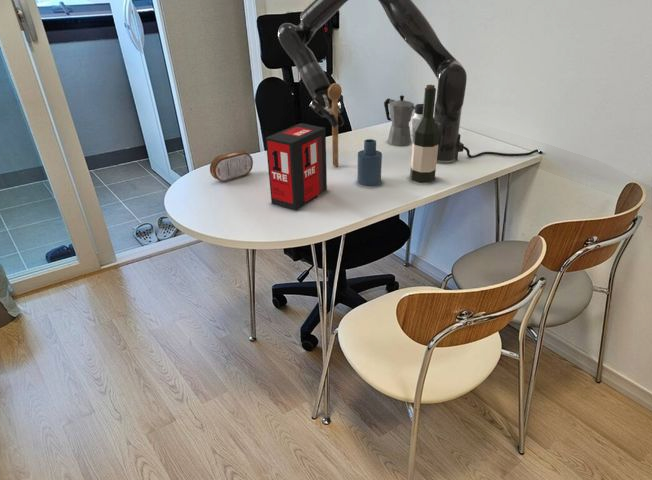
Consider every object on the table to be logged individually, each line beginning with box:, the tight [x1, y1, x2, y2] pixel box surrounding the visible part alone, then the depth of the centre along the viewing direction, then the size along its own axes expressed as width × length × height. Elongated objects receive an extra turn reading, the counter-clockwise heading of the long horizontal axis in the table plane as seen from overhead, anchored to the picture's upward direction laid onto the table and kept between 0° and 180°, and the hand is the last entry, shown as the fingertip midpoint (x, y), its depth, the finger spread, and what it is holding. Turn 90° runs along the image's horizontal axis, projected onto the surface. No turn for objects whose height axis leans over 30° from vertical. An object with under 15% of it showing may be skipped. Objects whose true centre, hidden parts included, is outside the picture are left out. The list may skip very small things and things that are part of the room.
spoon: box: [328, 82, 343, 168], centre depth 165 cm, size 2×5×28 cm, turn 132°
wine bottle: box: [409, 84, 440, 184], centre depth 156 cm, size 8×8×30 cm
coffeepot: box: [383, 94, 416, 147], centre depth 192 cm, size 15×9×18 cm, turn 44°
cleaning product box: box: [265, 122, 328, 211], centre depth 146 cm, size 16×9×20 cm, turn 150°
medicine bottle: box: [410, 102, 424, 137], centre depth 203 cm, size 7×7×12 cm
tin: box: [209, 149, 254, 182], centre depth 161 cm, size 15×3×8 cm, turn 135°
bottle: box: [356, 138, 383, 187], centre depth 158 cm, size 8×8×14 cm
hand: (339, 125), depth 163 cm, fingers closed on spoon, 2 cm apart
